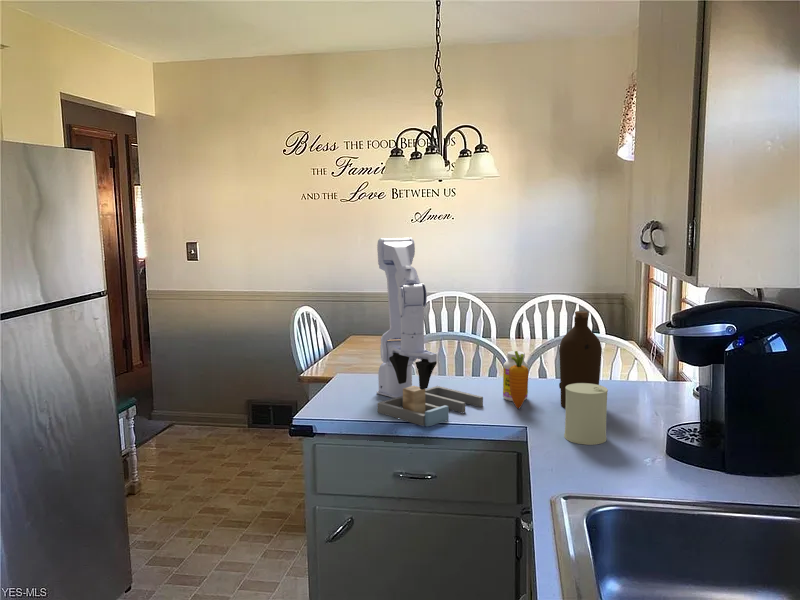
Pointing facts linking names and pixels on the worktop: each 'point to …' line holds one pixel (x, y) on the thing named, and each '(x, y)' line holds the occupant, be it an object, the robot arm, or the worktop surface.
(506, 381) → the supplement bottle
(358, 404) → the worktop surface
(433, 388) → the gray divided frame
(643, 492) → the worktop surface
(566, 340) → the olive oil
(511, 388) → the carrot
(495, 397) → the worktop surface
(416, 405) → the tan rectangular block
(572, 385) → the can
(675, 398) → the worktop surface
